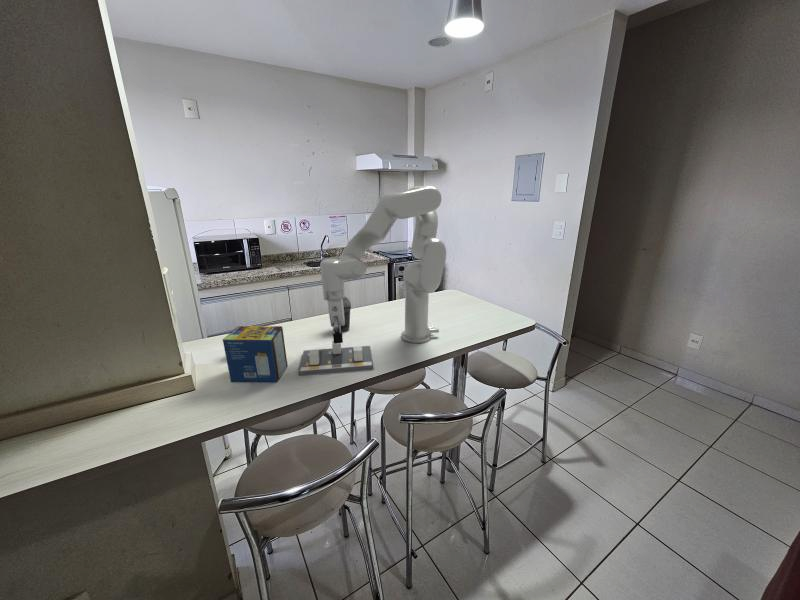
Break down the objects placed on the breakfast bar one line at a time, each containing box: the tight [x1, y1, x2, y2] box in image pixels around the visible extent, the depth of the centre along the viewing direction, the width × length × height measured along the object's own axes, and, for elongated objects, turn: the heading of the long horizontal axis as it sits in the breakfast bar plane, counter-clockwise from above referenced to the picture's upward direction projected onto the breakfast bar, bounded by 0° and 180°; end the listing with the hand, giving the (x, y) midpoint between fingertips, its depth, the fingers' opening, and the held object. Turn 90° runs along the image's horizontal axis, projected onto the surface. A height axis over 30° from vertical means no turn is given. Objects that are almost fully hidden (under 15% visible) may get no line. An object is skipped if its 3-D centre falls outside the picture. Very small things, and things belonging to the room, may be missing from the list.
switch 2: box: [352, 346, 363, 361], centre depth 115 cm, size 3×3×4 cm
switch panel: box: [298, 345, 374, 376], centre depth 117 cm, size 25×15×2 cm, turn 99°
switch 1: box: [309, 349, 320, 365], centre depth 113 cm, size 3×3×4 cm
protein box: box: [222, 325, 289, 384], centre depth 107 cm, size 10×15×16 cm
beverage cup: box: [342, 296, 352, 333], centre depth 141 cm, size 7×7×20 cm
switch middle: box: [331, 340, 342, 354], centre depth 120 cm, size 3×3×4 cm
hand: (338, 336), depth 122 cm, fingers open, 9 cm apart
